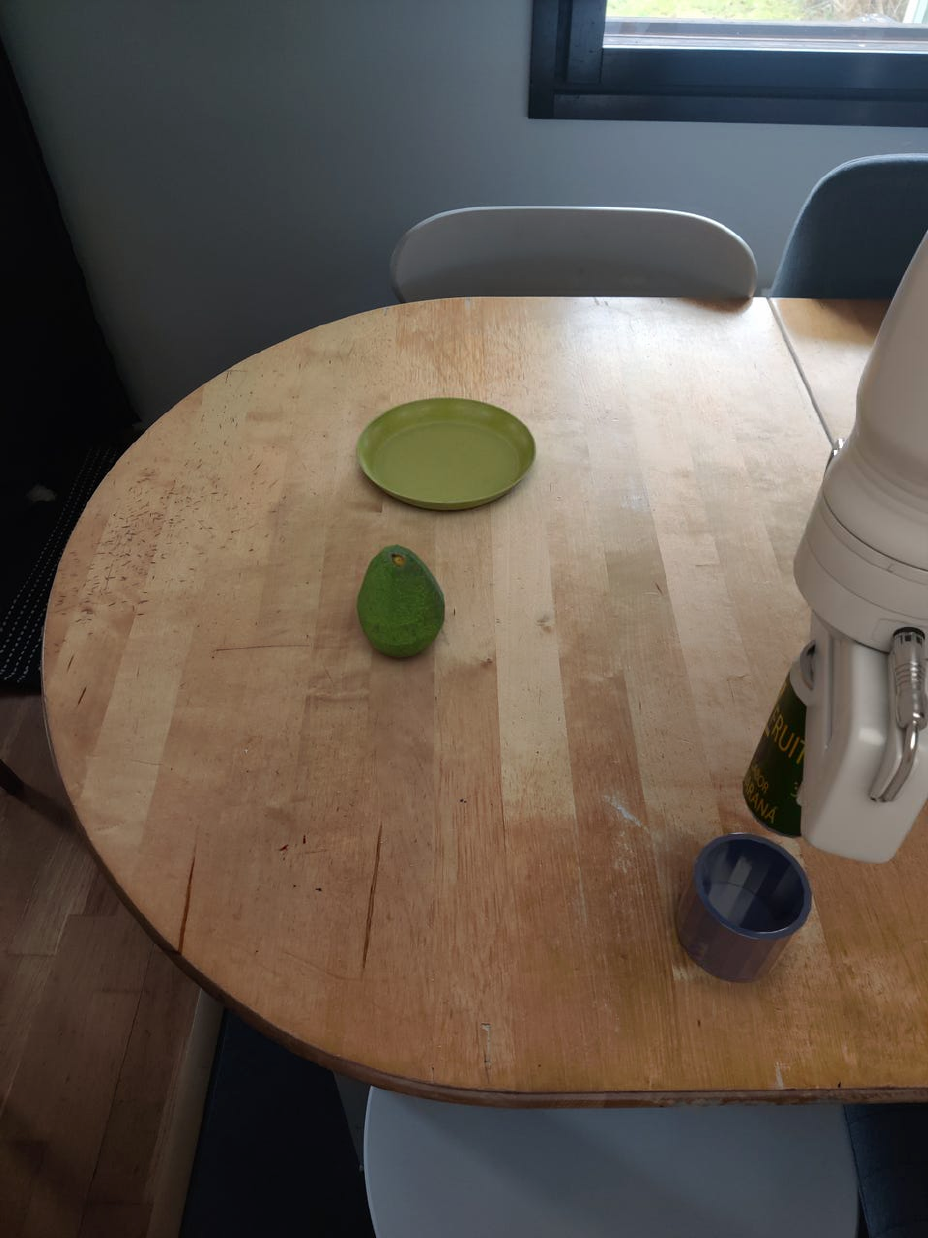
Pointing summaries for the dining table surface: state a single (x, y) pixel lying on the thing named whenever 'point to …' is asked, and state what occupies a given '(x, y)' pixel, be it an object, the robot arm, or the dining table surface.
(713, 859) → the cup
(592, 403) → the dining table surface
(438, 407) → the saucer
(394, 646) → the avocado
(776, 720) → the dark green drink can
